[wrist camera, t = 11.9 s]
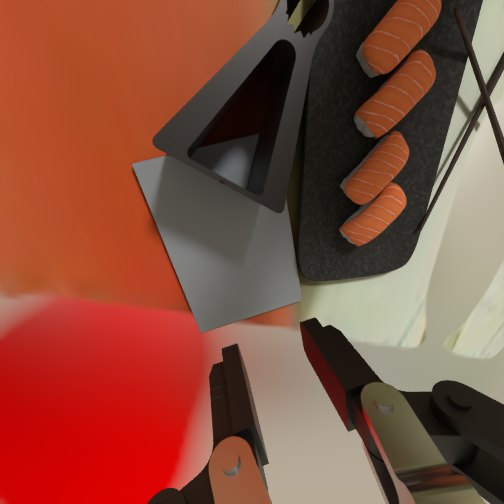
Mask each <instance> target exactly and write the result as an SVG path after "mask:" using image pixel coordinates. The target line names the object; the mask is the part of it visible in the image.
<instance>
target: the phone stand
mask: <svg viewBox="0 0 504 504" xmlns="http://www.w3.org/2000/svg"><path fill="white" fill-rule="evenodd" d="M299 1H300V0H278V2H277V4H276V7H275V9H274V11H273V13H272V15H271V18H270V19H269V20H268V22H267V23H266V24H265V25H264V26H263V27H262V28H261V29H260V30H259V31H258V32H257V33H256V34H255V35H254V36H253V37H252V38H251V39H250V40H249V41H248V42H247V43H246V44H245V45H244V46H243V47H242V48H241V49H240V50H239V51H238V52H237V53H236V54H235V55H234V56H233V57H232V58H231V59H230V60H229V61H228V62H227V63H226V64H225V65H224V66H223V67H222V68H221V69H220V70H219V71H218V72H217V73H216V74H215V75H214V76H213V77H212V78H211V79H210V80H209V81H208V82H207V83H206V84H205V86H204V87H203V88H202V89H201V90H200V91H199V92H198V93H197V94H196V95H195V96H194V97H193V98H192V99H191V100H190V101H189V102H188V103H187V104H186V105H185V106H184V107H183V108H182V109H181V110H180V111H179V112H178V113H177V114H176V115H175V116H174V117H173V118H172V119H171V120H170V121H169V122H168V123H167V124H166V125H165V126H164V127H163V128H162V129H161V130H160V131H159V132H158V133H157V134H156V135H155V136H154V137H153V145H154V146H155V147H156V148H157V149H159V150H161V151H163V152H165V153H167V154H168V155H170V156H172V157H174V158H176V159H178V160H180V161H181V162H183V163H185V164H187V165H189V166H191V167H192V168H194V169H196V170H198V171H200V172H202V173H204V174H205V175H207V176H209V177H211V178H213V179H215V180H217V181H218V182H220V183H222V184H224V185H226V186H228V187H229V188H231V189H233V190H235V191H237V192H239V193H241V194H242V195H244V196H246V197H248V198H250V199H252V200H253V201H255V202H257V203H259V204H261V205H263V206H265V207H266V208H268V209H270V210H272V211H274V212H276V213H282V212H283V211H284V208H285V202H286V197H287V192H288V186H289V181H290V175H291V170H292V165H293V159H294V154H295V149H296V143H297V138H298V132H299V127H300V122H301V116H302V111H303V106H304V100H305V95H306V89H307V84H308V79H309V73H310V68H311V62H312V58H313V54H314V51H315V48H316V45H317V43H318V41H319V39H320V37H321V35H322V34H323V32H324V31H325V30H326V28H327V27H328V25H329V23H330V21H331V18H332V15H333V9H334V0H315V2H314V3H313V5H312V6H311V8H310V9H309V11H308V12H307V14H306V15H305V17H304V19H303V20H302V22H301V23H300V25H299V26H298V28H297V29H296V31H295V32H294V25H293V24H287V22H288V20H289V19H290V17H291V15H292V13H293V12H294V10H295V8H296V6H297V5H298V3H299ZM259 78H260V79H263V80H264V81H266V83H267V85H268V88H269V92H268V96H267V101H266V105H265V110H264V114H263V118H262V123H261V127H260V132H259V136H258V140H257V145H256V149H255V154H254V158H253V163H252V167H251V171H250V176H249V180H248V185H247V188H246V189H244V188H242V187H240V186H239V185H237V184H235V183H233V182H231V181H230V180H228V179H226V178H224V177H222V176H221V175H219V174H217V173H215V172H213V171H211V170H210V169H208V168H206V167H204V166H202V165H201V164H199V163H197V162H195V161H193V160H192V159H191V156H192V154H193V153H194V152H195V151H196V150H197V148H198V147H199V146H200V145H201V143H202V142H203V141H204V140H205V139H206V137H207V136H208V135H209V134H210V133H211V131H212V130H213V129H214V128H215V127H216V125H217V124H218V123H219V122H220V121H221V119H222V118H223V117H224V116H225V115H226V113H227V112H228V111H229V110H230V109H231V107H232V106H233V105H234V104H235V102H236V101H237V100H238V99H239V98H240V96H241V95H242V94H243V93H244V92H245V90H246V89H247V88H248V87H249V86H250V84H251V83H252V82H253V81H254V80H255V79H259Z"/></svg>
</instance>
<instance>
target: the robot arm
mask: <svg viewBox="0 0 504 504" xmlns="http://www.w3.org/2000/svg"><path fill="white" fill-rule="evenodd" d="M300 329H301V335H302V341H303V347H304V350H305V353H306V355H307V358H308V360H309V362H310V363H311V365H312V367H313V369H314V371H315V372H316V374H317V376H318V378H319V380H320V381H321V383H322V385H323V387H324V389H325V390H326V392H327V394H328V396H329V398H330V399H331V401H332V403H333V405H334V407H335V409H336V410H337V412H338V414H339V416H340V417H341V419H342V421H343V423H344V425H345V427H346V428H347V430H348V432H349V431H352V430H354V429H356V430H357V431H358V433H359V435H360V437H361V438H362V443H363V448H364V451H365V454H366V456H367V459H368V461H369V464H370V466H371V468H372V471H373V474H374V476H375V478H376V481H377V483H378V486H379V488H380V491H381V493H382V496H383V498H384V501H385V503H386V504H485V502H484V501H483V499H482V498H481V497H483V498H484V499H485V500H487V501H488V502H489V503H490V504H504V405H503V404H501V403H500V402H498V401H496V400H494V399H492V398H490V397H488V396H486V395H484V394H482V393H480V392H478V391H476V390H474V389H473V388H471V387H469V386H467V385H464V384H462V383H459V382H456V381H449V380H445V381H440V382H438V383H436V384H435V385H434V386H433V389H432V392H405V391H400V390H397V389H396V388H394V387H393V386H391V385H388V384H386V383H384V382H383V381H382V380H380V378H379V377H378V376H377V375H376V374H375V372H374V371H373V370H372V369H371V368H370V366H369V365H368V364H367V363H366V362H365V360H364V359H363V358H362V357H361V355H360V354H359V353H358V352H357V351H356V349H354V347H353V346H352V344H351V343H350V342H348V340H347V338H346V337H345V336H344V335H343V333H342V332H341V331H340V330H338V329H336V328H335V327H333V326H331V325H328V326H325V327H322V325H321V324H320V322H319V321H318V320H317V319H316V318H315V317H314V318H311V319H309V320H306V321H303V322H300ZM222 355H223V362H220V363H217V364H214V365H213V367H212V370H211V373H210V376H209V380H210V394H211V395H210V396H211V409H212V410H211V411H212V426H213V442H214V443H213V450H212V454H211V457H210V459H209V461H208V463H207V465H206V466H205V468H204V469H203V470H202V471H201V473H199V474H198V476H196V477H195V478H194V479H193V480H192V481H190V482H189V483H188V484H187V485H186V486H185V487H183V488H182V489H181V490H180V491H179V490H177V489H174V488H167V489H164V490H161V491H160V492H158V493H157V494H156V495H154V496H153V497H152V499H151V500H150V501H149V502H148V503H147V504H272V502H271V499H270V497H269V494H268V488H267V482H266V478H265V473H264V469H263V466H264V465H266V464H269V463H268V459H267V454H266V450H265V446H264V442H263V437H262V433H261V429H260V425H259V421H258V416H257V413H256V409H255V404H254V400H253V396H252V392H251V387H250V383H249V379H248V375H247V372H246V368H245V365H244V362H243V359H242V356H241V353H240V350H239V347H238V344H234V345H231V346H228V347H225V348H222Z"/></svg>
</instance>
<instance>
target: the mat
mask: <svg viewBox="0 0 504 504" xmlns="http://www.w3.org/2000/svg"><path fill="white" fill-rule="evenodd" d="M258 136H259V133H258V134H254V135H250V136H246V137H242V138H237V139H233V140H229V141H225V142H221V143H217V144H212V145H208V146H204V147H200V148H197V150H196V151H195V152H194V153H193V154H192V156H191V159H192V160H193V161H195V162H197V163H199V164H201V165H202V166H204V167H206V168H208V169H210V170H211V171H213V172H215V173H217V174H219V175H221V176H222V177H224V178H226V179H228V180H230V181H231V182H233V183H235V184H237V185H239V186H240V187H242V188H244V189H246V188H247V185H248V180H249V176H250V171H251V167H252V163H253V158H254V154H255V149H256V145H257V140H258ZM132 166H133V168H134V171H135V173H136V176H137V178H138V181H139V183H140V185H141V188H142V190H143V193H144V195H145V198H146V200H147V203H148V205H149V207H150V210H151V212H152V215H153V217H154V220H155V222H156V225H157V227H158V230H159V232H160V234H161V237H162V239H163V242H164V244H165V247H166V249H167V252H168V254H169V256H170V259H171V261H172V264H173V266H174V269H175V271H176V274H177V276H178V279H179V281H180V283H181V286H182V288H183V291H184V293H185V296H186V298H187V301H188V303H189V305H190V308H191V310H192V313H193V315H194V318H195V320H196V323H197V325H198V327H199V330H200V332H201V333H204V332H207V331H210V330H213V329H216V328H219V327H222V326H225V325H228V324H231V323H234V322H237V321H240V320H243V319H247V318H250V317H253V316H256V315H259V314H262V313H265V312H268V311H271V310H274V309H277V308H280V307H283V306H286V305H289V304H293V303H296V302H299V301H302V295H301V289H300V282H299V276H298V270H297V263H296V257H295V251H294V244H293V238H292V232H291V225H290V219H289V212H288V206H287V200H286V202H285V208H284V211H283V212H282V213H276V212H274V211H272V210H270V209H268V208H266V207H265V206H263V205H261V204H259V203H257V202H255V201H253V200H252V199H250V198H248V197H246V196H244V195H242V194H241V193H239V192H237V191H235V190H233V189H231V188H229V187H228V186H226V185H224V184H222V183H220V182H218V181H217V180H215V179H213V178H211V177H209V176H207V175H205V174H204V173H202V172H200V171H198V170H196V169H194V168H192V167H191V166H189V165H187V164H185V163H183V162H181V161H180V160H178V159H176V158H174V157H172V156H170V155H167V156H162V157H158V158H154V159H150V160H146V161H142V162H137V163H133V164H132Z"/></svg>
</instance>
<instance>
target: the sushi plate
mask: <svg viewBox="0 0 504 504" xmlns="http://www.w3.org/2000/svg"><path fill="white" fill-rule="evenodd" d="M314 2H315V0H313V3H314ZM482 2H483V0H334V9H333V15H332V18H331V21H330V23H329V25H328V27H327V28H326V30H325V31H324V32H323V34H322V35H321V37H320V39H319V41H318V43H317V45H316V48H315V51H314V54H313V58H312V62H311V68H310V73H309V79H308V84H307V100H306V116H305V133H304V149H303V166H302V182H301V199H300V216H299V234H298V261H299V267H300V270H301V273H302V274H303V276H304V277H306V278H308V279H310V280H315V281H329V280H340V279H348V278H355V277H363V276H370V275H376V274H382V273H386V272H391V271H394V270H396V269H399V268H401V267H402V266H404V265H405V264H406V263H407V262H408V261H409V259H410V258H411V256H412V254H413V252H414V250H415V247H416V245H417V242H418V239H419V235H420V232H421V230H422V228H423V226H424V225H425V223H426V221H427V219H428V217H429V215H430V213H431V211H432V209H433V207H434V205H435V203H436V201H437V199H438V197H439V195H440V193H441V191H442V189H443V187H444V185H445V183H446V181H447V179H448V177H449V175H450V173H451V171H452V169H453V167H454V165H455V163H456V161H457V159H458V157H459V155H460V153H461V151H462V149H463V147H464V146H465V144H466V142H467V140H468V138H469V136H470V134H471V132H472V130H473V128H474V126H475V124H476V122H477V120H478V118H479V116H480V114H481V112H482V110H483V109H484V107H486V110H487V113H488V116H489V119H490V122H491V125H492V128H493V131H494V135H495V138H496V141H497V144H498V148H499V151H500V154H501V157H502V160H503V164H504V137H503V134H502V131H501V129H500V126H499V123H498V121H497V117H496V115H495V112H494V109H493V106H492V103H491V100H490V95H491V93H492V91H493V89H494V87H495V86H496V84H497V82H498V80H499V78H500V76H501V74H502V72H503V70H504V53H503V55H502V56H501V59H500V61H499V63H498V65H497V67H496V69H495V71H494V73H493V75H492V78H491V80H490V82H489V84H488V86H487V88H486V85H485V82H484V80H483V77H482V74H481V71H480V68H479V65H478V62H477V59H476V56H475V53H474V50H473V47H472V40H473V36H474V32H475V28H476V25H477V21H478V17H479V13H480V9H481V6H482ZM313 3H312V5H313ZM468 56H469V59H470V62H471V65H472V68H473V71H474V74H475V77H476V80H477V83H478V86H479V89H480V92H481V95H482V99H481V101H480V103H479V105H478V107H477V109H476V111H475V114H474V116H473V118H472V120H471V122H470V124H469V126H468V128H467V130H466V132H465V134H464V136H463V138H462V140H461V142H460V145H459V147H458V149H457V151H456V153H455V155H454V157H453V159H452V161H451V163H450V165H449V167H448V169H447V171H446V173H445V175H444V177H443V179H442V181H441V183H440V185H439V187H438V190H437V192H436V194H435V196H434V198H433V200H432V202H431V204H430V206H429V208H428V210H427V207H428V203H429V200H430V196H431V192H432V188H433V185H434V181H435V177H436V174H437V170H438V166H439V162H440V159H441V155H442V151H443V148H444V144H445V140H446V136H447V133H448V129H449V125H450V122H451V118H452V114H453V110H454V107H455V103H456V99H457V96H458V92H459V88H460V84H461V81H462V77H463V73H464V70H465V66H466V62H467V58H468ZM426 211H427V212H426Z"/></svg>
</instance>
